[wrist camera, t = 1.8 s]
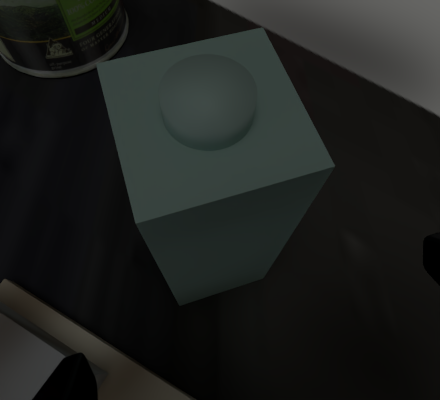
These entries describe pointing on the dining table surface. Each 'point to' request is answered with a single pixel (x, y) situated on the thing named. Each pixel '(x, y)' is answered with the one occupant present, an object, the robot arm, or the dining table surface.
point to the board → (98, 349)
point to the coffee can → (60, 35)
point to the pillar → (213, 157)
